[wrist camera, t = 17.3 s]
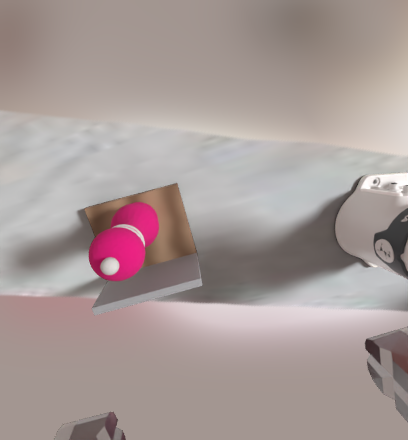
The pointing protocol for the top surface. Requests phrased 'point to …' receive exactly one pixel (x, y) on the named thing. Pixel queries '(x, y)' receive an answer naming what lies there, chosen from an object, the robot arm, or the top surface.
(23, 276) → the top surface
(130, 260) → the pepper mill
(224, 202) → the top surface
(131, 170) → the top surface
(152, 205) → the bookend
